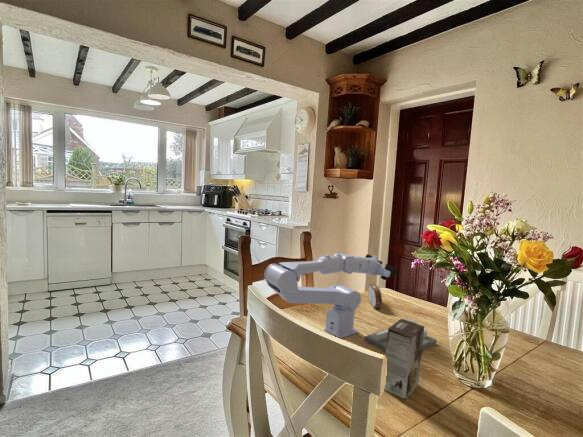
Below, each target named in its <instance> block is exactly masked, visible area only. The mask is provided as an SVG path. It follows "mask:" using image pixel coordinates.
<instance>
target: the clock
mask: <svg viewBox="0 0 583 437" xmlns="http://www.w3.org/2000/svg"><path fill="white" fill-rule="evenodd" d="M381 291H382V290H381V289H380V287H379V286H378V285H377V283H370V284H368V297H367V298H368V300H369V303H370V304H371V306H372V307H373V309H381V308H382V304H383V303H382V302H383V299H382V292H381Z"/></svg>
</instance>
